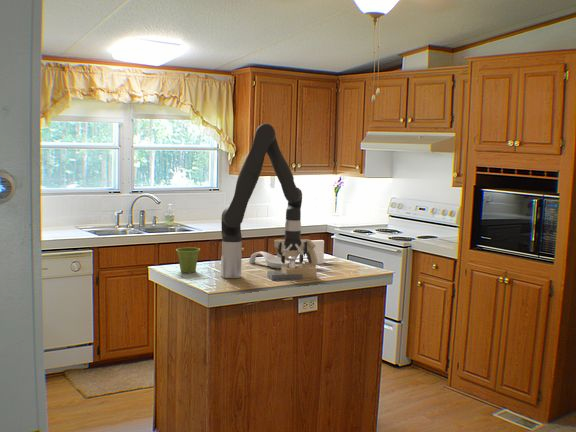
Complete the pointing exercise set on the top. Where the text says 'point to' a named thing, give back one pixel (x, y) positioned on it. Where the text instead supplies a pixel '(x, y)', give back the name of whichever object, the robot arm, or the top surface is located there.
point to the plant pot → (188, 259)
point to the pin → (292, 261)
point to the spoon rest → (269, 260)
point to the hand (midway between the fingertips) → (292, 262)
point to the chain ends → (294, 273)
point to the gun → (310, 253)
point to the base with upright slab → (319, 250)
